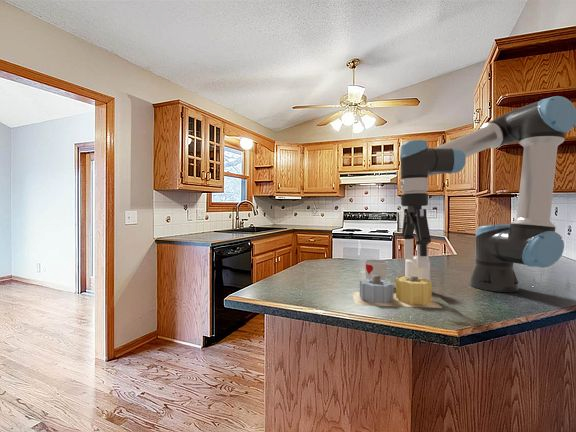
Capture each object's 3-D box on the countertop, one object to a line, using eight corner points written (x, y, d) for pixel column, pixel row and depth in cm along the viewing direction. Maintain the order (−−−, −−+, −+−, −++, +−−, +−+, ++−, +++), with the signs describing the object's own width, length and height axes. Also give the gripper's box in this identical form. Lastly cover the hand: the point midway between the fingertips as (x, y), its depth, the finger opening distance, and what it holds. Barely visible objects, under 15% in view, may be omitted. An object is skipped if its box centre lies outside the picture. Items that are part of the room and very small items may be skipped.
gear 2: (424, 295, 98) (424, 276, 98) (435, 305, 89) (436, 284, 88) (393, 294, 99) (393, 276, 99) (401, 303, 90) (401, 283, 89)
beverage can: (432, 295, 104) (432, 259, 104) (407, 293, 106) (407, 258, 106) (426, 288, 112) (427, 256, 112) (403, 287, 114) (403, 255, 114)
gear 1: (388, 294, 99) (388, 279, 99) (396, 303, 90) (396, 286, 90) (358, 293, 100) (358, 278, 100) (362, 302, 91) (362, 285, 91)
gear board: (425, 298, 100) (426, 272, 100) (442, 313, 86) (443, 282, 86) (350, 296, 103) (351, 270, 103) (355, 309, 89) (355, 280, 89)
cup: (361, 286, 116) (361, 259, 116) (382, 285, 117) (382, 259, 117) (368, 291, 108) (369, 263, 108) (391, 291, 109) (391, 263, 109)
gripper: (392, 194, 106) (392, 256, 106) (413, 191, 81) (414, 271, 82) (414, 194, 105) (415, 256, 106) (443, 190, 80) (444, 271, 81)
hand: (415, 263), depth 94 cm, fingers open, 13 cm apart
